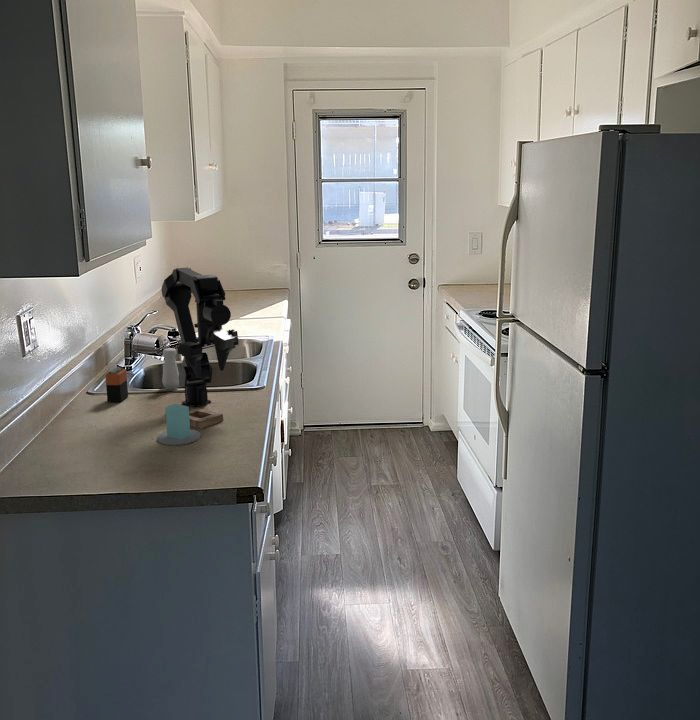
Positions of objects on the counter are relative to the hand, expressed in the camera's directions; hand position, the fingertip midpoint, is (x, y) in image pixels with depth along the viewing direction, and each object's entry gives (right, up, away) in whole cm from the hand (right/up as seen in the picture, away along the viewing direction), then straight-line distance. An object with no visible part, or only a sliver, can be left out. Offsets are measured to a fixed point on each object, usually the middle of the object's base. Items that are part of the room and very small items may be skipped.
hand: (210, 373), depth 215 cm
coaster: (-5, -17, -18) cm, 25 cm away
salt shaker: (-18, -5, +31) cm, 37 cm away
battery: (-32, -9, +18) cm, 38 cm away
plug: (-5, -16, -18) cm, 24 cm away
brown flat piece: (-2, -13, -4) cm, 14 cm away
